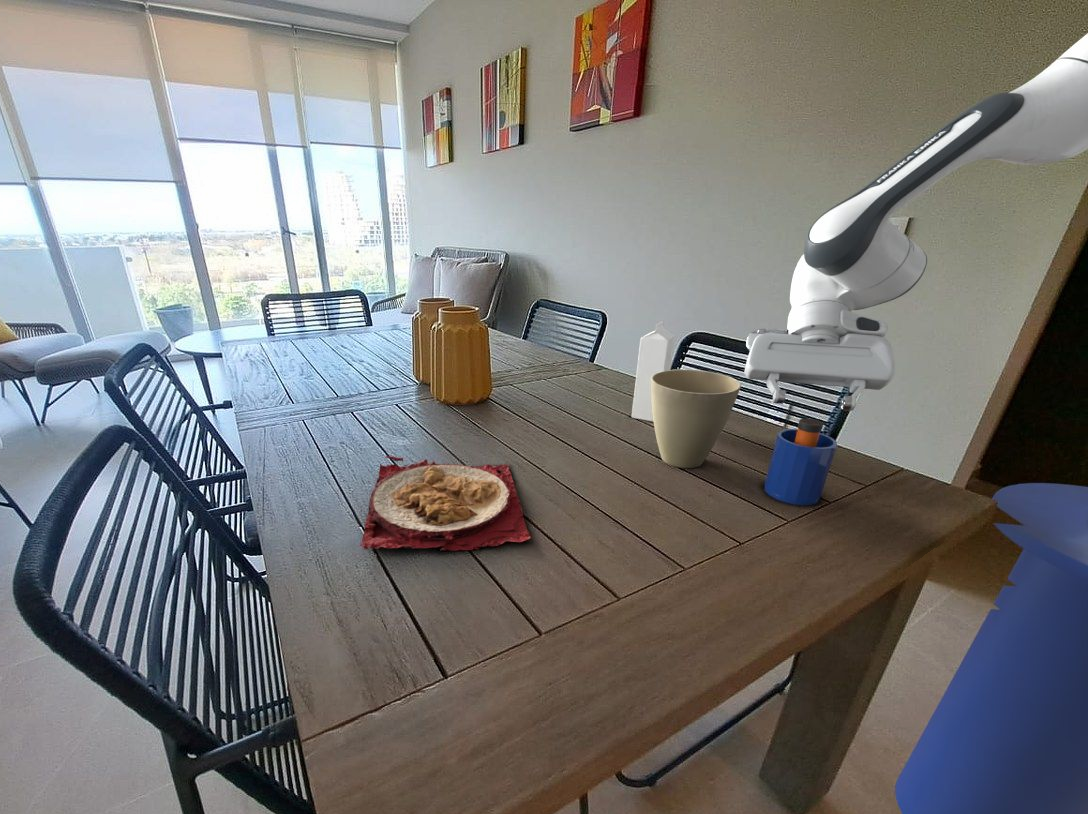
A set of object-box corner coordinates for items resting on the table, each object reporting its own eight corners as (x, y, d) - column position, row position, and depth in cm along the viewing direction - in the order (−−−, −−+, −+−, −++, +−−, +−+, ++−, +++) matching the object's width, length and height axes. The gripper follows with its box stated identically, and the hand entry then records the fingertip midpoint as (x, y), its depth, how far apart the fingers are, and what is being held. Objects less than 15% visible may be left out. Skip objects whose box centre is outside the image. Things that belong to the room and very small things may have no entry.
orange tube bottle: (799, 485, 81) (818, 419, 76) (806, 494, 78) (827, 426, 73) (778, 483, 81) (796, 417, 76) (785, 492, 78) (803, 425, 73)
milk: (663, 415, 115) (678, 321, 106) (656, 422, 110) (671, 325, 101) (638, 410, 118) (650, 319, 109) (630, 417, 113) (642, 323, 104)
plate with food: (360, 559, 66) (357, 538, 64) (381, 470, 89) (379, 454, 87) (531, 549, 68) (532, 529, 66) (508, 465, 91) (508, 449, 89)
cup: (808, 483, 83) (824, 430, 79) (827, 507, 76) (846, 450, 71) (757, 480, 84) (771, 427, 80) (772, 503, 77) (788, 446, 73)
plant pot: (634, 443, 99) (643, 368, 93) (707, 445, 98) (722, 369, 91) (650, 477, 86) (662, 392, 79) (735, 479, 84) (755, 393, 78)
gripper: (751, 317, 81) (743, 389, 77) (900, 323, 73) (899, 403, 69) (744, 338, 86) (736, 406, 82) (882, 346, 79) (880, 421, 75)
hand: (812, 405), depth 76 cm, fingers open, 8 cm apart
